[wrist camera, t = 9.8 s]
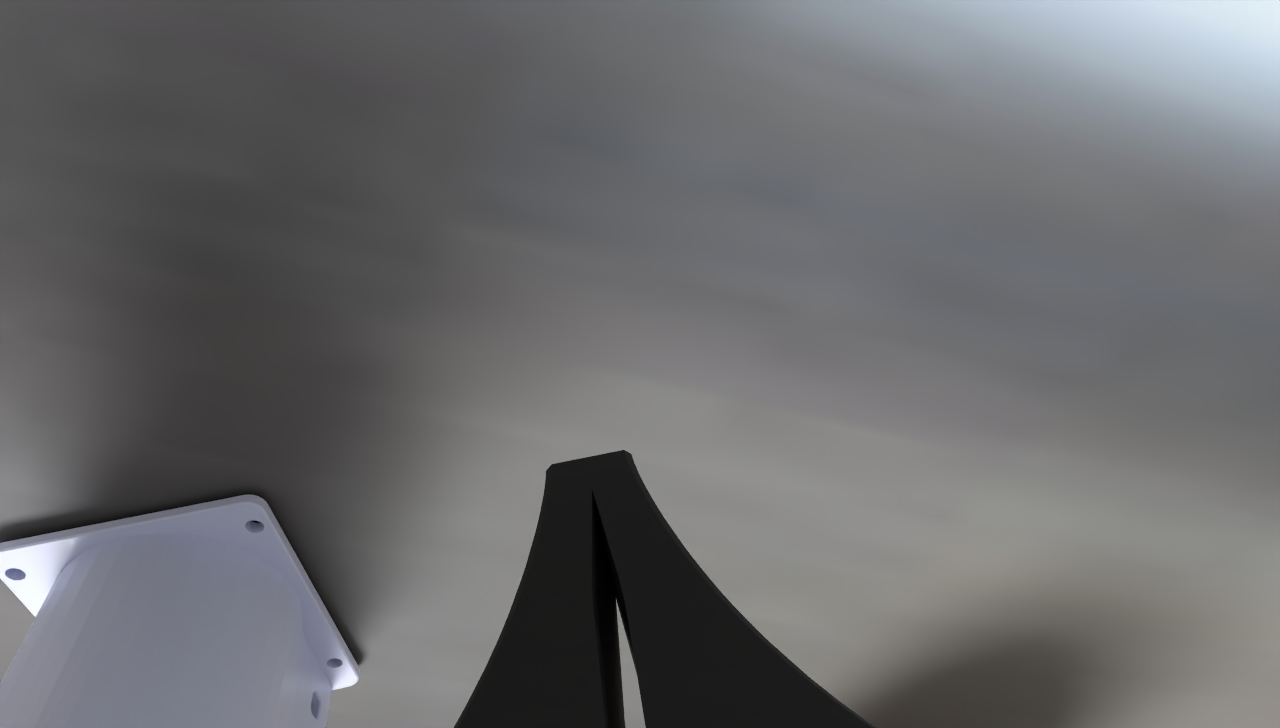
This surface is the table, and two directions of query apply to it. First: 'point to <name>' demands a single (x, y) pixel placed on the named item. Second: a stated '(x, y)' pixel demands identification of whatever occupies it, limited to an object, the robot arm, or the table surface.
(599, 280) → the table surface
